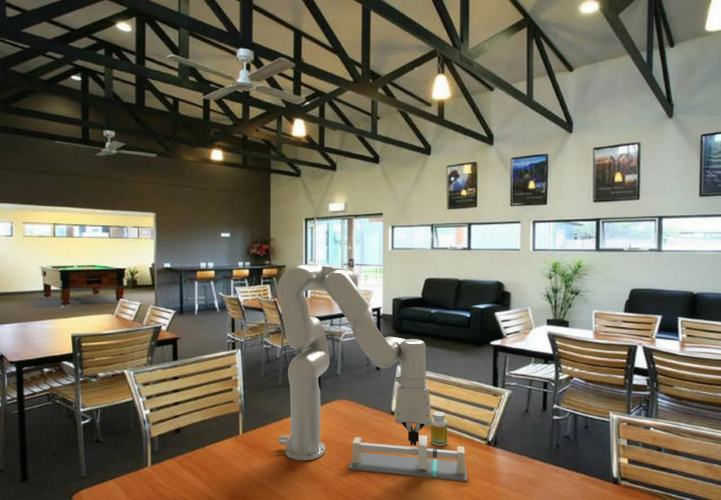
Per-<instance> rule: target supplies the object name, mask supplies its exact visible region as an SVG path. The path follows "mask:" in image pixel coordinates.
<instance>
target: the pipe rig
mask: <svg viewBox="0 0 721 500" xmlns="http://www.w3.org/2000/svg"><path fill="white" fill-rule="evenodd" d="M351 445H352V446H351V447H352V449H351V450H352V451H351V453H352V454H351V455H352V458H351V461H350V464H349V466H348V470H352V471H362V472H370V473H371V472H372V473H379V474H389V475H391V474H392V475H401V476H410V477H418V478H430V479H437V480H438V479H440V480H441V479H442V480H449V481H458V482H468V474H467V472H468V471H467V464H466V451H465V446H459V445H458V446H457V445H456V446H457V447H456V450H448V449H439V448H434V447H433V448H428V447H427V457H429V458H427V470H425V469H418V457H412V456H418V446H417V447H416V446H407V445H405V446H404V445H395V444H394V445H393V444H382V443H374V442H373V443H370V442H362V437H358V436H357V437H356V436H355V437H354V439H353V441H352V444H351ZM362 451H367V452H362ZM371 452H372V453H371ZM373 452H375V453H373ZM376 452H377V453H376ZM381 453H387V454H381ZM391 454H397V455H391ZM403 455H410V456H403ZM437 458H442V459H437ZM444 459H445V460H444ZM446 459H452V460H446ZM453 459H454V460H453Z"/></svg>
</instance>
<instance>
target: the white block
mask: <svg viewBox="0 0 721 500" xmlns="http://www.w3.org/2000/svg"><path fill="white" fill-rule="evenodd" d="M417 443H418V444H417V447H418V455H417V458H418V469H425V470H427V459H428V456H427V448H428V435H422V434H421V435H420V434H419V441H418V442H417Z"/></svg>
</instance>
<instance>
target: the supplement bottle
mask: <svg viewBox="0 0 721 500" xmlns="http://www.w3.org/2000/svg"><path fill="white" fill-rule="evenodd" d="M431 421H432V423H431V425H430V442H431V444H433V445H434V446H439V447H442V446H446V445H447V444H448V421H447V420H446V414H445V412H444V411H434V412H433V413H432V418H431Z"/></svg>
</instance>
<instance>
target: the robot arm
mask: <svg viewBox="0 0 721 500" xmlns="http://www.w3.org/2000/svg"><path fill="white" fill-rule="evenodd" d="M310 290H320V291H324V292H326V293H327V294H328V295H329V297H330V298H331V300H332V301H333V302H334V303H335V305H336V306H337V307H338V309H339V310H340V311H341V312H342V315H344V317H345V318H346V320H347V322H348V323H349V326H350V329H351V331H352V333H353V336H354V338H355V341H356V342H357V344H358V345H359V347H360V348H361V350H362V351H363V352H364V353H365V355H366V357H367V358H368V359H369V360H370V362H371V363H372V364H373V365H375V366H376V367H377V368H381V369H388V368H390V367H392V366H393V365H394V364H395V363H396V362H398V361H399V362H400V364H399V366H400V368H399V369H400V370H399V371H400V375H399V376H395V382H398V383H399V384H398V386H397V389H396V399H395V420H394V421H395V423H396V424H399V425H402V426H403V427H404V428H405V429H406V430H407V432H408V433H407V435H408V436H407V440H408V442H410V443H409V445H410V446H413V447H416V446H417V443H419V435H420V431H421V429H423V428H424V427H427V426H429V427H430V426H431V423H432V421H431V420H432V418H431V412H432V411H431V398H430V397H431V396H430V391H429V386H428V385H427V377H426V376H427V371H426V370H427V368H426V366H427V364H426V361H427V360H426V359H427V357H426V355H427V353H426V351H427V349H426V346H427V345H426V343H425V342H424V341H423V340H421V339H417V338H409V339H405V338H400V337H395V336H386V337H384V335H382V333H381V331H380V330H379V329H378V327H377V325H376V323H375V321H374V317H373V308H372V305H371V303H370V302H369V301H368V299H367V298H366V297H365V296H364V294H363V293H362V291H360V289H359V288H358V278H357V275H356V274H355V273H354V272H353V271H352V270H350V269H348V268H341V267H335V266H329V265H323V264H318V263H309V264H303V263H302V264H297V265H294V266H292V267H290V268H289V269H287V270H286V271H285V272H284V273H283V274H282V275H281V277H280V279H279V280H278V284H277V295H278V296H277V297H278V300H279V304H280V310H281V315H282V316H281V317H282V322H283V327H284V334H285V338H286V342H287V344H288V345H289V347H290V348H291V349H293V350H301V353H298V354H297V355H296V356H294V357H293V358H292V360H291V361H290V363H289V365H288V368H287V376H288V383H289V389H290V390H289V392H290V393H289V394H290V398H289V399H290V404H289V405H290V435H279V437H278V442H279V445H281V446H284V445H286V447H285V455H286V457H288V458H289V459H291V460H294V461H300V462H301V461H305V462H306V461H312V460H315V459H319V458H320V457H322V456H323V455H324V454H325V453H326V445H325V444H324V443H323V442H322V441H321V389H320V386H319V385H320V384H319V378H320V376H322V375H323V374H324V373H326V371H327V370H328V368H329V366H330V352H329V346H328V343H327V337H326V331H325V328H324V326H323V323H322V322H321V320H320V319H319V318H317V317H316V316H313V315H310V313H309V305H308V303H307V302H308V301H307V300H306V298H305V296H304V292H307V291H310ZM412 423H413V424H415V426H414V427H413V426H412Z"/></svg>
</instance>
